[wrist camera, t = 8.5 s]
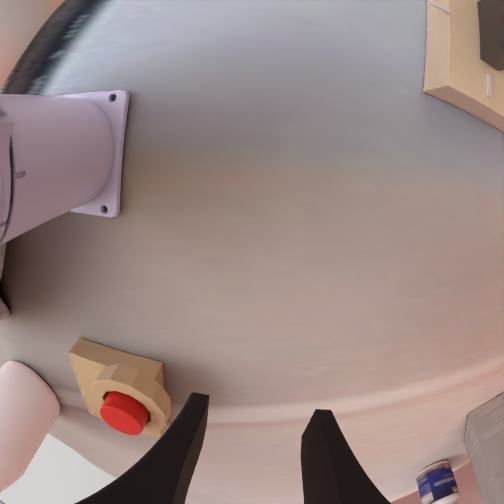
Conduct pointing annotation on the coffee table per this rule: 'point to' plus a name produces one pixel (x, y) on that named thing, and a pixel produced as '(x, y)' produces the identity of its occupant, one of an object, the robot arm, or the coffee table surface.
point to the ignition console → (121, 381)
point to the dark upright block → (491, 32)
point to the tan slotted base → (461, 62)
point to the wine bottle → (22, 418)
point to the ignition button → (124, 413)
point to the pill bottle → (437, 484)
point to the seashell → (0, 308)
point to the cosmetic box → (487, 448)
